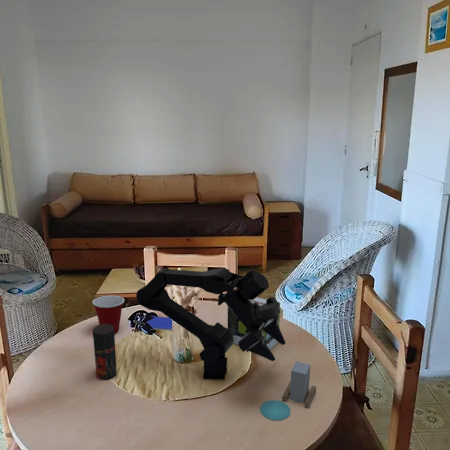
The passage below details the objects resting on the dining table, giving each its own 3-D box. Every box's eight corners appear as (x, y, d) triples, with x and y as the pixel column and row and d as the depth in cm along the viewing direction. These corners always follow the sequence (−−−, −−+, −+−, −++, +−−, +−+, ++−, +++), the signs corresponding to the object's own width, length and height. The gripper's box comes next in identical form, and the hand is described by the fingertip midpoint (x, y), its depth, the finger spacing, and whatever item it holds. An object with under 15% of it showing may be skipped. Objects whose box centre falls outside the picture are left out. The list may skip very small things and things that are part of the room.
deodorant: (120, 374, 137) (118, 328, 133) (103, 383, 132) (100, 336, 128) (109, 366, 140) (106, 322, 136) (92, 374, 136) (88, 329, 132)
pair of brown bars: (282, 400, 125) (282, 396, 125) (290, 384, 132) (290, 380, 132) (308, 408, 122) (309, 403, 122) (315, 391, 129) (316, 386, 129)
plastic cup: (131, 325, 166) (129, 295, 162) (117, 340, 155) (115, 308, 152) (103, 322, 168) (101, 291, 165) (88, 336, 158) (86, 304, 154)
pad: (260, 420, 118) (260, 419, 118) (259, 400, 125) (259, 399, 125) (292, 420, 117) (292, 420, 117) (288, 400, 125) (288, 400, 125)
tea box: (279, 341, 156) (281, 301, 152) (265, 355, 147) (267, 313, 143) (241, 329, 163) (242, 291, 159) (226, 342, 155) (226, 301, 151)
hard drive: (138, 326, 163) (172, 328, 162) (144, 315, 171) (177, 317, 170) (138, 330, 164) (172, 332, 162) (144, 319, 171) (177, 321, 170)
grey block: (289, 399, 126) (291, 370, 123) (294, 389, 130) (296, 361, 128) (304, 403, 124) (305, 374, 122) (308, 392, 129) (310, 364, 126)
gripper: (250, 306, 116) (291, 354, 114) (273, 280, 132) (309, 322, 131) (221, 328, 121) (260, 375, 120) (247, 300, 137) (281, 341, 136)
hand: (279, 351), depth 126 cm, fingers open, 9 cm apart
